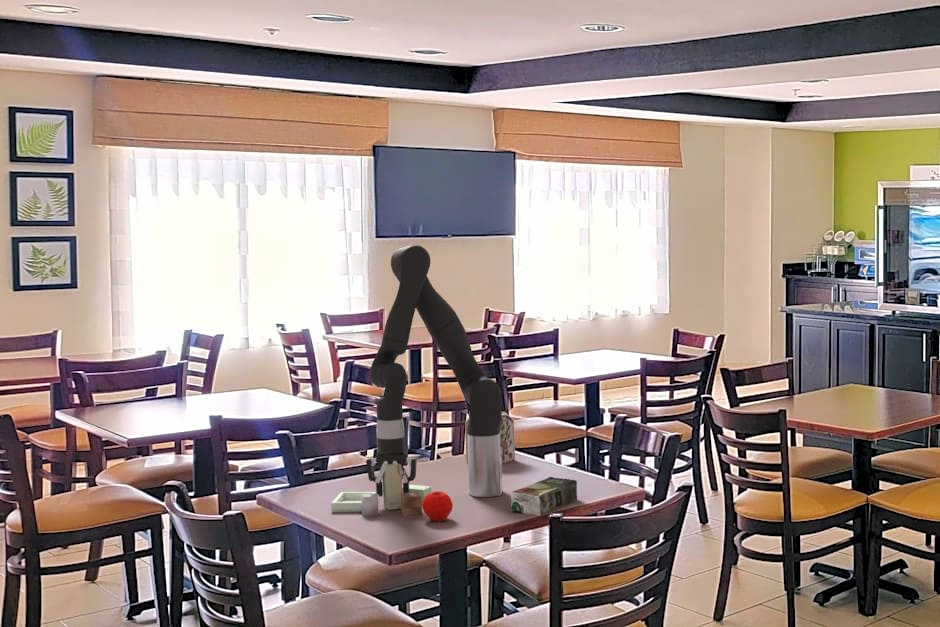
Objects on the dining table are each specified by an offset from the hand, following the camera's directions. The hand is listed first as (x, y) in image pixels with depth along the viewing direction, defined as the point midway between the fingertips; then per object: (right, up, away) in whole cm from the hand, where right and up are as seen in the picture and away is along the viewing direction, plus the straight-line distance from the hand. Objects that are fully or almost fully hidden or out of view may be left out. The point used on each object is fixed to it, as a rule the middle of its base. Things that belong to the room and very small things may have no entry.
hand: (392, 495), depth 288 cm
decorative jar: (+28, +1, +53) cm, 60 cm away
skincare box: (0, -3, 0) cm, 3 cm away
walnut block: (+5, -4, -6) cm, 9 cm away
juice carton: (+41, -3, -3) cm, 41 cm away
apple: (+13, -4, -14) cm, 19 cm away
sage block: (+6, -3, +7) cm, 9 cm away
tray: (-11, -3, +2) cm, 11 cm away
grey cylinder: (-6, -4, -6) cm, 9 cm away
